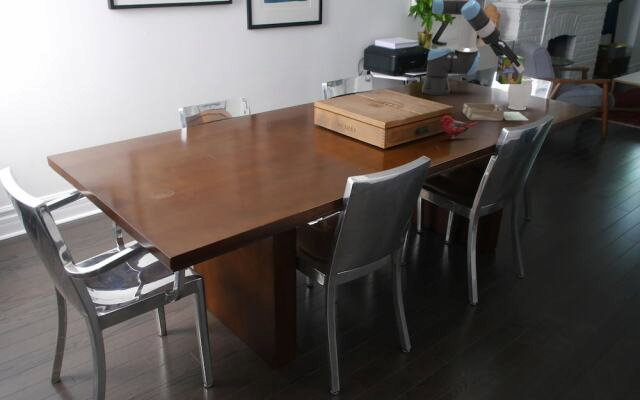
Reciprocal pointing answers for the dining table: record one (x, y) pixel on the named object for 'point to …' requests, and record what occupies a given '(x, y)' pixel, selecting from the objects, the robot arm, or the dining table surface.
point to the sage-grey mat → (514, 116)
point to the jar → (520, 94)
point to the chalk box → (508, 71)
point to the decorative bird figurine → (454, 126)
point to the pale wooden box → (483, 112)
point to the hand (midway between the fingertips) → (516, 68)
